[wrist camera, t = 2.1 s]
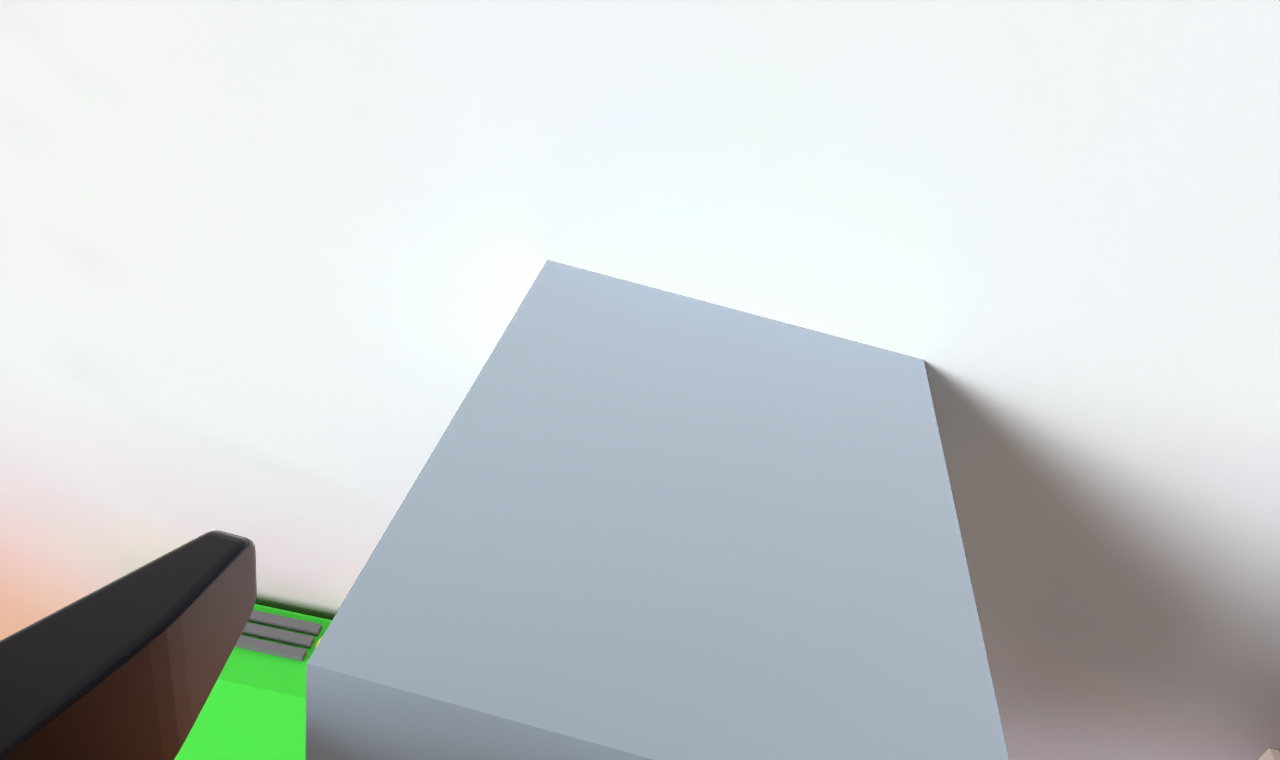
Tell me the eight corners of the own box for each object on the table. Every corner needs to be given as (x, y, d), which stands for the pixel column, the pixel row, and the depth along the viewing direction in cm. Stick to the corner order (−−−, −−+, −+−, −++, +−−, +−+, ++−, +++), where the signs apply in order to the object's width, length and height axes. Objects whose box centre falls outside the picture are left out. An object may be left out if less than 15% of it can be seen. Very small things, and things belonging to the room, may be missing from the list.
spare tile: (878, 459, 15) (934, 978, 8) (529, 366, 15) (304, 803, 8) (924, 359, 14) (1032, 864, 7) (547, 260, 14) (306, 662, 7)
